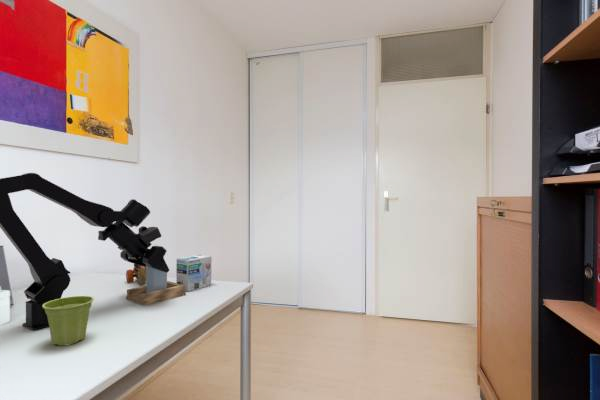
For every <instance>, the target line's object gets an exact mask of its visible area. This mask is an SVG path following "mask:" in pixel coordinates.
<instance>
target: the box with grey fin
mask: <svg viewBox="0 0 600 400" xmlns="http://www.w3.org/2000/svg"><path fill="white" fill-rule="evenodd" d="M167 281H168V273H166V272H163V271H160V270H157V269H154V268H151V267H148V266H147V265H146V283H145V284H146V285H145V286H146V293H148V292H153V291H157V290H162V289H166V288H167Z"/></svg>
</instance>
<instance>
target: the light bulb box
mask: <svg viewBox="0 0 600 400" xmlns="http://www.w3.org/2000/svg"><path fill="white" fill-rule="evenodd" d="M176 283H177V284H181V285H185V292H188V291H189V292H192V291H196V290H200V289H203V288H202V287H204V288H207V287H210V286H209V285H211V286H212V256H211V255H205V254H204V255H203V254H196V255H189V256H185V257H179V258H176ZM206 286H207V287H206ZM199 288H200V289H199ZM195 289H196V290H195Z"/></svg>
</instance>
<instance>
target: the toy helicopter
mask: <svg viewBox="0 0 600 400" xmlns="http://www.w3.org/2000/svg"><path fill="white" fill-rule="evenodd" d="M125 277H126V278H125V280H126V282H127V283H128V284H130V283H133V282H134V278H135V279H136V280H137V281H138V283H139V285H145V284H146V267H144V266H140V265H137V264H134V263H133V268H132V269H127V270H126V272H125Z"/></svg>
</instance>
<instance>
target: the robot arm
mask: <svg viewBox="0 0 600 400" xmlns="http://www.w3.org/2000/svg"><path fill="white" fill-rule="evenodd" d="M26 190H27V191H31V192H32V193H34V194H36V195H38V196H40V197H42V198H45V199H47V200H49V201H51V202H53V203H54V204H57V205H59V206H61V207H64V208H65V209H67V210H70V211H71V212H73V213H74V214H75V215H77V216H78V217H79V218H80V219H81V220H82V221H84V222H86V223H87V224H88V225H89V226H93V227H100V228H104V229H103V230H98V238H97V240H99V241H104V242H105V241H106V240H107V239H109V240H110V241H112V243H114V244H115V245H116V246H117V249H119V250H120V251H121V252H119V253H120V258H121V259H122V260H124V261H126V262H128V263H131V264H133V265H134V264H137V265H140V266H144V267H146V265H147V266H148V267H151V268H154V269H157V270H160V271H163V272H166V273H167V274H168V273H169V272H170V268H169V266H168V264H167V262H166V260H165V257H164V256H165V255H166V253H167V249H166V248H165V247H163V246H161V245H152V243H151V242H154V241H155V240H157V239H159V238H162V234H161V231H160V229H159V227H158V226H149V227H147V226H144V225H143V226H140V225H141V224H142V223H143V222H144V220H145V219H146V218H147V217H148V216H150V214H151V210H150V209H149V208H148V207H147V206H146V205H144V204H142V203H141V202H139V201H137V199H132V198H131V199H130V200H129V201H128V202H127V203H126V205H125V206H124V207H123V208H122V209H121V210H114V209H113V208H112V207H110V206H106V205H104V204H100V203H96V202H94V201H90V200H86V199H84V198H82V197H80V196H78V195H76V194H74V193H72V192H71V191H69V190H67V189H65V188H63V187H61V186H59V185H57V184H55V183H53V182H51V181H49V180H47V179H45V178H44V177H42V176H41V175H39V174H38V173H35V172H26V173H23V174H21V175H14V176H10V177H9V176H8V177H7V176H6V177H2V178H0V229H1V231H2V232H3V233H4V234H5V236H6V237H7V239H8V240H9V241H10V243H11V244H12V245H13V247H14V248H15V249H16V250H17V251H18V253H19V255H21V257H22V258H23V259H24V261H25V262H26V264H27V265H28V267H29V272H30V274H31V277H32V279H33V282H32V283H31V284H30V285H29V286H28V287H27V288H26V289H25V290H24V291H23V293H24V295H25V297H26V298H27V299H29V300H28V301H25V322H23V323H22V327H26V328H27V329H30V330H33V331H37V330H41V329H44V328H47V327H49V322H48V317H47V314H46V313H45V309H44V308H43V307H42V305H43V304H44V303H46V302H49V301H52V300H55V299H60V298H62V296H63V294H64V291H66V289H67V288H68V287H69V285H70V283H71V277H70V275H69V274H71V271H69V270H68V269H67V268H66V267H65V264H64V262H63V260H61V259H58V258H55V257H52V258H51V259H50V258H49V256H47V254H46V252H45V251H44V250H43V248H42V247H41V246H40V245H39V243H38V242H37V241H36V239H35V237H34V236H33V235H32V234H31V232H30V231H29V229H28V228H27V226H26V224H24V223H23V221H22V220H21V218H20V217H19V215H18V214H17V212H15V210H14V208H13V204H12V200H11V199H10V195H9V194H14V193H18V192H23V191H26ZM139 226H140V227H139ZM133 227H136V228H138V233H135V232H134V231H133V230H132V229H131V228H133Z"/></svg>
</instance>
